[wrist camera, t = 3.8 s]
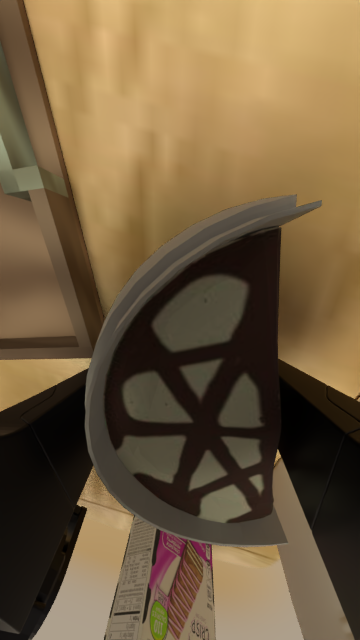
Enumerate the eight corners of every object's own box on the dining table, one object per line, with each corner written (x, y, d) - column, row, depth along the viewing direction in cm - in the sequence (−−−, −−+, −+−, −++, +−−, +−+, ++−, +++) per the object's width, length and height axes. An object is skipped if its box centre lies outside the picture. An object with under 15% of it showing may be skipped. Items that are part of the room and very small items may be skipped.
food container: (117, 249, 12) (-69, 229, 3) (206, 234, 12) (327, 158, 3) (155, 391, 16) (132, 573, 7) (221, 380, 16) (287, 550, 7)
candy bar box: (213, 524, 26) (233, 917, 11) (185, 531, 27) (169, 882, 12) (164, 483, 23) (100, 923, 8) (137, 492, 25) (39, 879, 10)
